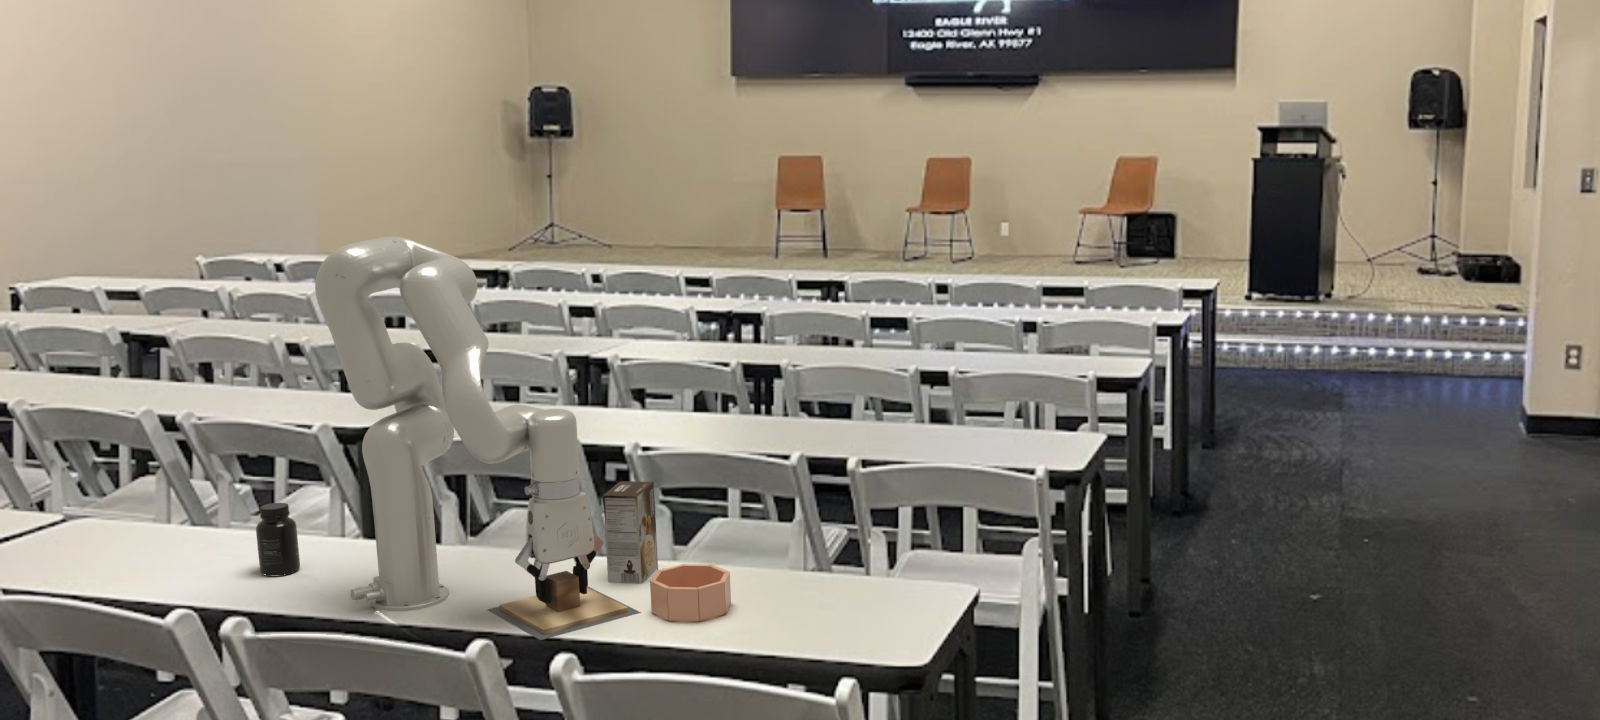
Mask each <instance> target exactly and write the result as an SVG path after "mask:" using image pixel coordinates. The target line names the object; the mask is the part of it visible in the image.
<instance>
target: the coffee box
mask: <svg viewBox="0 0 1600 720" xmlns="http://www.w3.org/2000/svg"><path fill="white" fill-rule="evenodd" d="M654 484H655V481H629V480H628V481H626V480H625V481H619V482H617V483H616V484H615V485H614V486H613V487H611V488H610V489H609V490H608V491H606V492H605V493H604V494H603V495H602V497H603V499H602V501H603V516H604V517H603V518H604V529H605V530H604V533H605V547H606V548H605V549H606V551H605V552H606V564H607V565H606V566H607V568H606V569H607V583H610V584H611V583H612V584H613V583H615V584H636V585H637V584H641V585H642V584H644V583H645V582H646V581H647V580H648V579H649V577H651V576H652V575H654V572H656V571H658V570H659V562H658V561H659V560H658V558H659V557H658V542H657V540H658V539H657V524H656V506H655V505H656V503H655V501H656V500H655V485H654Z"/></svg>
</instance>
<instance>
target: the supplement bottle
mask: <svg viewBox="0 0 1600 720" xmlns="http://www.w3.org/2000/svg"><path fill="white" fill-rule="evenodd" d="M289 509H290V506H289V504H288V503H286V502H272V503H267V504H264V505H261V506H260V507H259V518H260V519H261V521H259V522H258V523H257V525H256V528H255V533H256V542H257V543H256V544H257V553H258V565H259V571H260V573H261V575H263V574H266V575H283V576H285V575H284V574H288V575H290V574H289V573H291V574H293V573H292V572H294V573H296V572H298V571H299V570H300V568H301V560H300V559H301V558H300V549H299V539H298V530H297V523H296V521H295V520H294V519H293V518H291V517H289V516H290V513H291V512H290V510H289ZM298 569H299V570H298ZM297 570H298V571H297ZM295 571H296V572H295Z"/></svg>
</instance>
